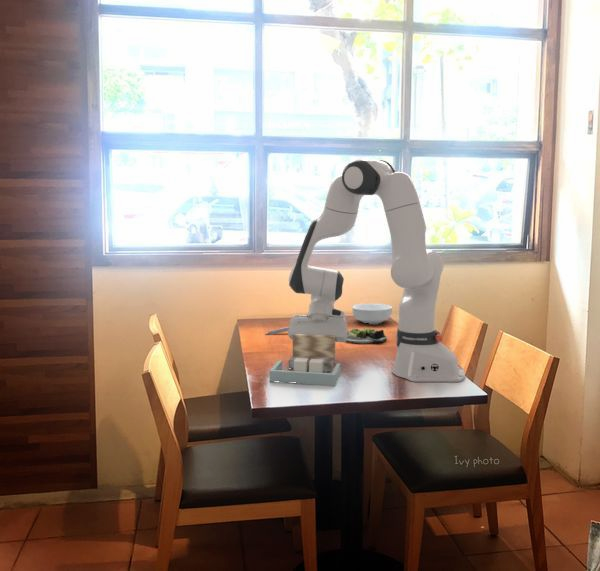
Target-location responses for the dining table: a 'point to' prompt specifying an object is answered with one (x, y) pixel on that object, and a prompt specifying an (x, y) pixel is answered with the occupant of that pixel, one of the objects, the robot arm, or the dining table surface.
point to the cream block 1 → (301, 364)
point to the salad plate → (366, 336)
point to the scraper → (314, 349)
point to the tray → (304, 376)
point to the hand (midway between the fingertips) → (315, 350)
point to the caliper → (278, 330)
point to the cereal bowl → (372, 312)
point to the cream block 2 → (316, 365)
